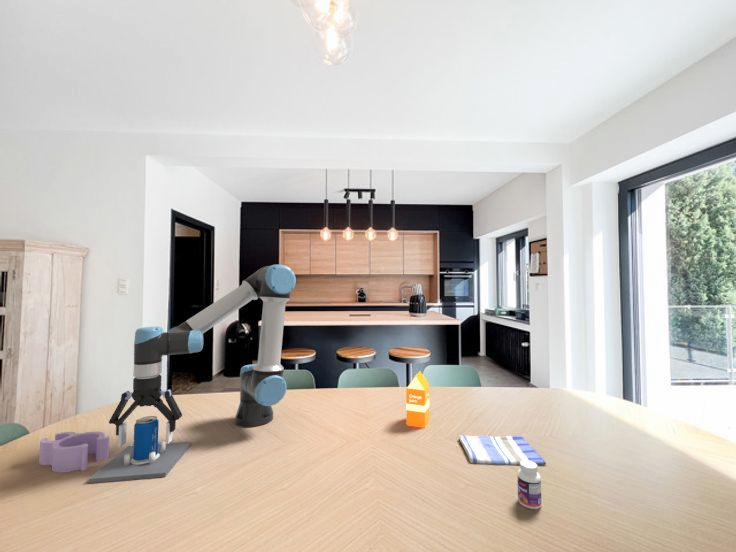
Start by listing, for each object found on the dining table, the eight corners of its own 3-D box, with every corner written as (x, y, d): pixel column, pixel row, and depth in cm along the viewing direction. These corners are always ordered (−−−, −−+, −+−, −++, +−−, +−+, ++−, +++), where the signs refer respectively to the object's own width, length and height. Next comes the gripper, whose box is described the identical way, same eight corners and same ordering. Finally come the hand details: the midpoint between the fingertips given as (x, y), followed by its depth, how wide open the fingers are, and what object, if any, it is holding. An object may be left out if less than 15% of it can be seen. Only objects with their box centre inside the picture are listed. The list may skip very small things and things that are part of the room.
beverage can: (145, 464, 100) (146, 424, 101) (127, 462, 102) (128, 422, 102) (162, 453, 107) (163, 416, 107) (146, 451, 108) (146, 414, 108)
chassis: (190, 445, 115) (191, 432, 116) (165, 476, 96) (165, 462, 96) (128, 449, 112) (128, 437, 112) (88, 483, 92) (88, 468, 93)
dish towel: (457, 440, 120) (457, 432, 120) (524, 442, 118) (523, 434, 118) (468, 465, 102) (468, 456, 103) (546, 468, 101) (546, 458, 101)
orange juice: (406, 425, 132) (405, 374, 133) (411, 417, 140) (411, 370, 141) (425, 428, 129) (424, 376, 130) (430, 419, 137) (429, 371, 138)
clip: (25, 467, 101) (26, 444, 102) (69, 448, 113) (70, 428, 114) (75, 475, 97) (76, 451, 97) (116, 455, 109) (117, 433, 109)
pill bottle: (513, 496, 86) (513, 458, 86) (533, 495, 86) (532, 457, 87) (525, 510, 81) (524, 470, 81) (546, 509, 81) (545, 469, 81)
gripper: (193, 371, 111) (192, 435, 110) (111, 374, 107) (109, 441, 106) (185, 377, 103) (183, 446, 102) (96, 380, 99) (94, 452, 99)
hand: (145, 443), depth 104 cm, fingers open, 13 cm apart
